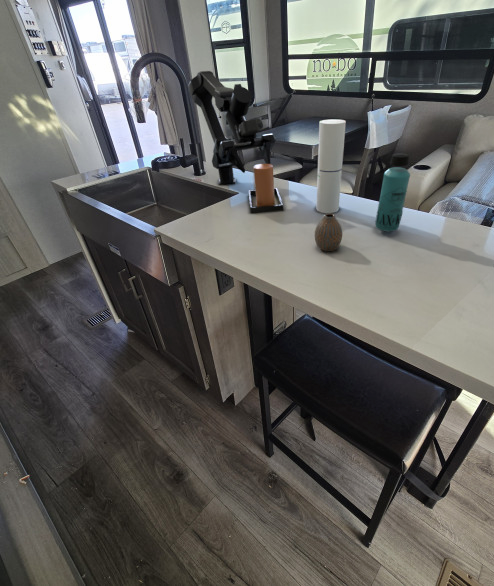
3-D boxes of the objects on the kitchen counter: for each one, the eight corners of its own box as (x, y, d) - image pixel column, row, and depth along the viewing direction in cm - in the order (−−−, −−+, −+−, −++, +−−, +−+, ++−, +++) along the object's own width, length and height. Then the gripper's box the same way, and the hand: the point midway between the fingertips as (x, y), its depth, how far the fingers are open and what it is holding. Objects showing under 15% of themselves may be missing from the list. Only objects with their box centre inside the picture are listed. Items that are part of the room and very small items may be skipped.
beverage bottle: (369, 229, 87) (380, 153, 75) (387, 224, 89) (401, 149, 77) (384, 238, 83) (399, 159, 70) (403, 233, 85) (421, 155, 73)
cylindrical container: (328, 215, 96) (333, 124, 81) (311, 209, 101) (314, 122, 86) (343, 208, 100) (351, 120, 85) (326, 203, 104) (331, 118, 89)
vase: (325, 238, 84) (327, 207, 79) (346, 246, 80) (350, 214, 75) (308, 248, 80) (309, 216, 75) (329, 257, 76) (332, 223, 71)
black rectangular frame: (248, 195, 113) (248, 190, 112) (277, 193, 114) (277, 188, 113) (250, 213, 100) (250, 207, 99) (283, 210, 101) (283, 205, 100)
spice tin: (256, 204, 106) (253, 164, 98) (274, 202, 106) (272, 163, 98) (257, 210, 101) (254, 169, 93) (275, 209, 102) (273, 168, 94)
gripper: (215, 111, 90) (235, 159, 89) (271, 105, 97) (290, 149, 96) (210, 137, 100) (229, 180, 99) (261, 129, 108) (279, 169, 106)
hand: (257, 169), depth 100 cm, fingers open, 9 cm apart
